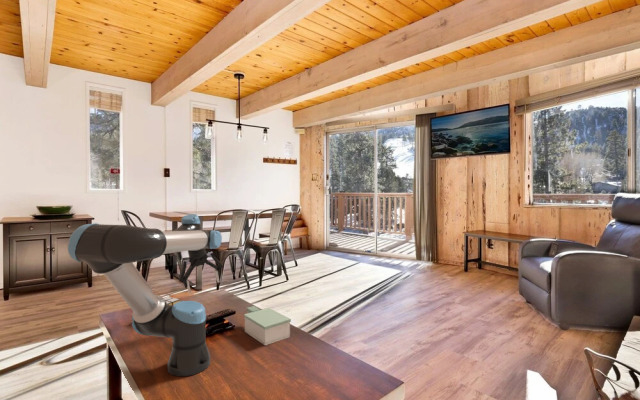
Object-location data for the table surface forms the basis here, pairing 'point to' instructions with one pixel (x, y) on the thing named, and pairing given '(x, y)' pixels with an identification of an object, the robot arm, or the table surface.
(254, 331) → the tub
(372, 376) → the table surface
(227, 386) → the table surface
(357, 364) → the table surface
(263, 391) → the table surface
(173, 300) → the puzzle cube
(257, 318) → the lid
